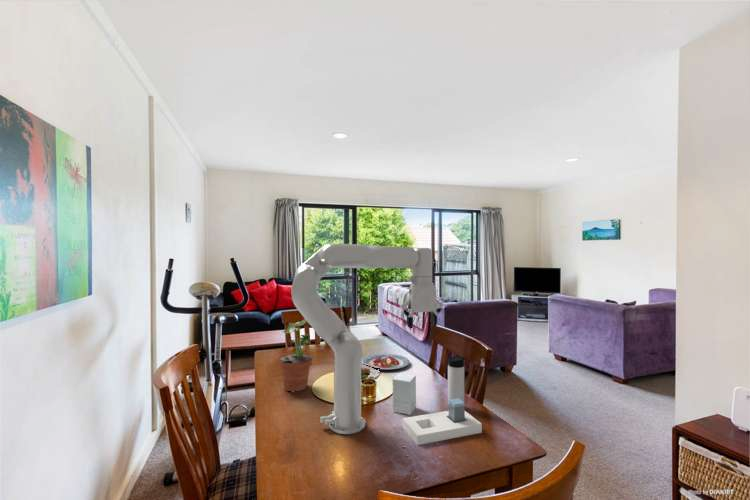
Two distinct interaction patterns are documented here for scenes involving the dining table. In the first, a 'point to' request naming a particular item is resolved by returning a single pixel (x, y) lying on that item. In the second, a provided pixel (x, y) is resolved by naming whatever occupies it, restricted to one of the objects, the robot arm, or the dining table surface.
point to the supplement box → (404, 393)
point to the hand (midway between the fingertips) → (421, 326)
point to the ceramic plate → (386, 361)
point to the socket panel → (439, 427)
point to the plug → (456, 410)
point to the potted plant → (296, 362)
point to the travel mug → (456, 378)
